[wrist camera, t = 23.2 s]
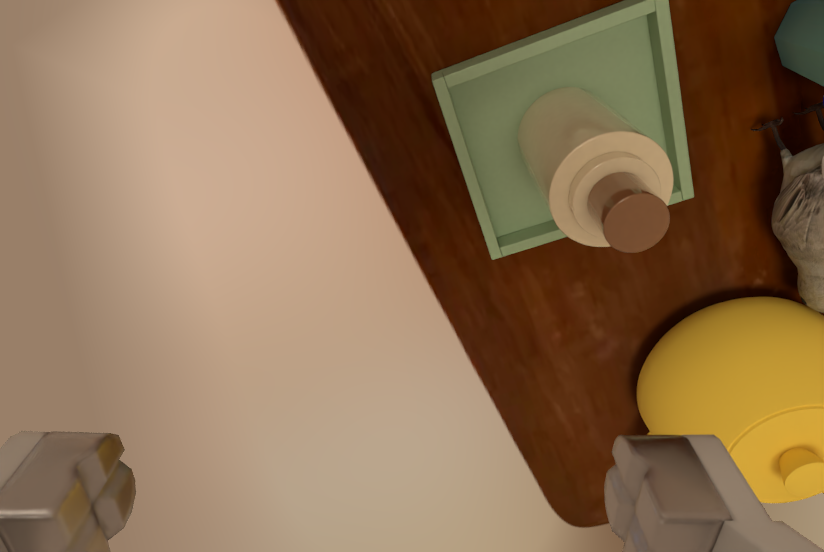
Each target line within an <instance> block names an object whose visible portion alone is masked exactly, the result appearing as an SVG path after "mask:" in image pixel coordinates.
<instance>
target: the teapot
mask: <svg viewBox="0 0 824 552" xmlns="http://www.w3.org/2000/svg"><path fill="white" fill-rule="evenodd" d="M637 403H638V409H639V412H640V414H641V417H642V419H643V421H644V422H645V424H646V426H647V428H648V429H649V431H650V432H649V433H648V434H647V435H715V436H716V437H718V438H719V439H720V440H721V441H722V443H723V445H724V446H725V448H726V449H727V451H728V452H729V454H730V456H731V457H732V459H733V460H734V462H735V463H736V465H737V467H738V468H739V470H740V471H741V473H742V474H743V476H744V478H745V479H746V481H747V482H748V484H749V485H750V487H751V489H752V490H753V492H754V493H755V495H756V496H757V498H758V500H759V501H760V502H763V503H786V502H792V501H798V500H802V499H805V498H808V497H811V496H814V495H816V494H819V493H821V492H822V493H824V316H823V315H821V314H820V313H819V312H817V311H815V310H813V309H812V308H810V307H808V306H806V305H803V304H800V303H797V302H794V301H791V300H788V299H782V298H777V297H747V298H740V299H733V300H729V301H725V302H721V303H717V304H714V305H711V306H708V307H706V308H703V309H701V310H699V311H697V312H695V313H693V314H691V315H690V316H688V317H686V318H684V319H683V320H682V321H680V322H679V323H678V324H676V325H675V326H674V327H672V328H671V329H670V330H669V331H668V332H667V333H666V334H665V335H664V336H663V337H662V338H661V339H660V340H659V341H658V343H657V344H656V345H655V346H654V348H653V349H652V351H651V352H650V354H649V355H648V357H647V358H646V360H645V362H644V364H643V366H642V369H641V372H640V375H639V378H638V384H637Z"/></svg>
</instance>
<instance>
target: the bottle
mask: <svg viewBox="0 0 824 552" xmlns="http://www.w3.org/2000/svg"><path fill="white" fill-rule="evenodd" d="M517 140H518V148H519V152H520V155H521V157H522V159H523V161H524V163H525V165H526V167H527V169H528V171H529V173H530V175H531V177H532V179H533V180H534V182H535V184H536V186H537V188H538V190H539V192H540V194H541V196H542V198H543V200H544V202H545V204H546V206H547V208H548V210H549V212H550V214H551V216H552V218H553V220H554V221H555V223H556V225H557V226H558V228H559V229H560V230H561V231H562V232H563V233H564V234H565V235H566V236H568V237H569V238H570V239H572V240H574V241H576V242H578V243H581V244H584V245H588V246H594V247H608V246H612V247H613V248H614V249H616V250H618V251H621V252H626V253H635V252H640V251H644V250H646V249H648V248H650V247H652V246H654V245H655V244H656V243H657V242H658V241H660V239H661V238H662V237H663V236H664V234H665V233H666V231H667V229H668V226H669V221H670V214H669V210H668V207H667V205H668V203H669V200H670V198H671V194H672V190H673V181H674V178H673V170H672V165H671V162H670V160H669V158H668V156H667V154H666V153H665V151H664V150H663V149H662V148H661V146H660V145H658V144H657V143H656V142H655V141H654V140H652V139H651V138H650V137H649V136H647V135H646V134H645V133H644V132H642V131H641V130H640V129H638V128H637V127H636V126H635V125H633V124H632V123H631V122H630V121H628V120H627V119H626V118H624V117H623V116H622V115H621V114H619V113H618V112H617V111H616V110H614V109H613V108H612V107H611V106H609V105H608V104H607V103H605V102H604V101H603V100H602V99H600V98H599V97H598V96H597V95H595V94H594V93H592V92H590V91H588V90H586V89H582V88H578V87H563V88H558V89H555V90H552V91H550V92H547V93H546V94H544V95H542V96H541V97H539V98H538V99H537V100H536V101H535V102H534V103H533V104H532V105H531V106H530V107H529V108H528V109H527V111H526V112H525V114H524V116H523V118H522V120H521V123H520V126H519V130H518V138H517Z"/></svg>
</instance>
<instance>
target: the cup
mask: <svg viewBox="0 0 824 552" xmlns="http://www.w3.org/2000/svg"><path fill="white" fill-rule="evenodd" d="M774 39H775V43H776V46H777V49H778V53H779V56H780V59H781V63H782V66H784V67H786V68H788V69H790V70H792V71H794V72H796V73H798V74H800V75H802V76H804V77H806V78H808V79H810V80H812V81H814V82H816V83H818V84H820V85H822V86H824V0H796V1H794V2H793V3H791V5H790V7H789V9H788V11H787V13H786V15H785V17H784V19H783V21H782V22H781V24H780V26H779V28H778V30H777V32H776V34H775V36H774ZM823 105H824V97H823Z"/></svg>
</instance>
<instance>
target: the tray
mask: <svg viewBox="0 0 824 552" xmlns="http://www.w3.org/2000/svg"><path fill="white" fill-rule="evenodd" d="M431 75H432V83H433V86H434V89H435V92H436V95H437V98H438V101H439V104H440V107H441V110H442V113H443V116H444V119H445V122H446V125H447V128H448V131H449V134H450V137H451V140H452V142H453V145H454V148H455V151H456V154H457V157H458V160H459V163H460V166H461V169H462V172H463V175H464V178H465V181H466V184H467V187H468V190H469V193H470V196H471V199H472V202H473V205H474V208H475V211H476V214H477V217H478V220H479V223H480V226H481V229H482V232H483V235H484V238H485V241H486V244H487V247H488V250H489V253H490V256H491V259H492V260H494V259H497V258H500V257H502V256H507V255H510V254H513V253H516V252H519V251H523V250H526V249H529V248H532V247H536V246H539V245H542V244H545V243H548V242H552V241H555V240H558V239H561V238H564V237H568V236H566V235H565V234H564V233H563V232H562V231H561V230H560V229H559V228H558V226H557V225H556V223H555V221H554V220H553V218H552V216H551V214H550V212H549V210H548V208H547V206H546V204H545V202H544V200H543V198H542V196H541V194H540V192H539V190H538V188H537V186H536V184H535V182H534V180H533V179H532V177H531V175H530V173H529V171H528V169H527V167H526V165H525V163H524V161H523V159H522V157H521V155H520V152H519V148H518V140H517V138H518V130H519V126H520V123H521V120H522V118H523V116H524V114H525V112H526V111H527V109H528V108H529V107H530V106H531V105H532V104H533V103H534V102H535V101H536V100H537V99H538V98H539V97H541V96H542V95H544V94H546V93H547V92H550V91H552V90H555V89H558V88H563V87H578V88H582V89H586V90H588V91H590V92H592V93H594V94H595V95H597V96H598V97H599V98H600V99H602V100H603V101H604V102H605V103H607V104H608V105H609V106H611V107H612V108H613V109H614V110H616V111H617V112H618V113H619V114H621V115H622V116H623V117H624V118H626V119H627V120H628V121H630V122H631V123H632V124H633V125H635V126H636V127H637V128H638V129H640V130H641V131H642V132H644V133H645V134H646V135H647V136H649V137H650V138H651V139H652V140H654V141H655V142H656V143H657V144H658V145H660V146H661V148H662V149H663V150H664V151H665V153H666V154H667V156H668V158H669V160H670V162H671V165H672V170H673V178H674V181H673V190H672V194H671V198H670V200H669V203H668V205H671V204H674V203H677V202H680V201H682V200H687V199H690V198H693V197H694V191H693V184H692V176H691V168H690V161H689V153H688V145H687V138H686V130H685V122H684V115H683V107H682V99H681V92H680V84H679V76H678V69H677V61H676V53H675V46H674V38H673V31H672V23H671V15H670V8H669V0H624V1H622V2H619V3H616V4H614V5H611V6H608V7H606V8H603V9H600V10H598V11H595V12H593V13H590V14H587V15H585V16H582V17H579V18H577V19H574V20H571V21H569V22H566V23H564V24H561V25H558V26H556V27H553V28H550V29H548V30H545V31H542V32H540V33H537V34H535V35H532V36H529V37H527V38H524V39H521V40H519V41H516V42H513V43H511V44H508V45H505V46H503V47H500V48H498V49H495V50H492V51H490V52H487V53H484V54H482V55H479V56H476V57H474V58H471V59H469V60H466V61H463V62H461V63H458V64H455V65H453V66H450V67H447V68H445V69H442V70H440V71H437V72H434V73H432V74H431Z"/></svg>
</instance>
